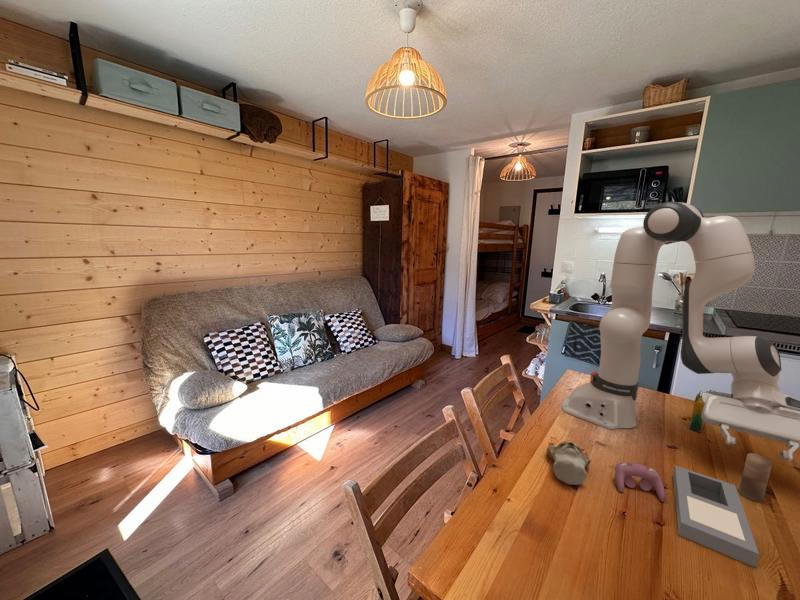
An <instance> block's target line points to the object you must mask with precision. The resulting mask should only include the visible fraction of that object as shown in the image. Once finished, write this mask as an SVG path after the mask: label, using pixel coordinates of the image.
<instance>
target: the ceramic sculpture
mask: <svg viewBox="0 0 800 600" xmlns="http://www.w3.org/2000/svg"><path fill="white" fill-rule="evenodd" d="M546 450H547V451H546V452H547V455H549V457H550V458H552V460H553V461H554V463H553V464H552V468H553V472H554V475H555V477H556V478H557V479H558V480H559V481H561V482H563V483H565V484H566V485H570V486H571V485H573V486H578V485H581V484H583V483H584V482H585V480H586V479H587V477H588V473H587V470H586V467H587V466H589V465H590V464H591V462H592V460H591V459H590V458H589V457H588V456H589V455H588V453H587V452H584V453H583V450H582V449H581V447H580V446H579V445H578V444H577V443H573V442H569V441H561V442H559V443H558V444H557V446H555V445H552V443H550V442H549V443H548V446H547V448H546Z"/></svg>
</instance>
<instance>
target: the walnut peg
mask: <svg viewBox="0 0 800 600" xmlns="http://www.w3.org/2000/svg"><path fill="white" fill-rule="evenodd" d="M772 466H773V461H772V460H771V459H769V458H768V457H765V456H764V455H760V454H758V453H755V452H754V453H752V452H748V453H747V455H746V459H745V463H744V468H743V471H742V475H741V479H740V484H739V487H738V494H740V496H742V497H743V498H745V499H747V500H748V501H751V502H754V503H763V502H764V498H765V493H766V490H767V486H768V483H769V478H770V475H771V470H772Z"/></svg>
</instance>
